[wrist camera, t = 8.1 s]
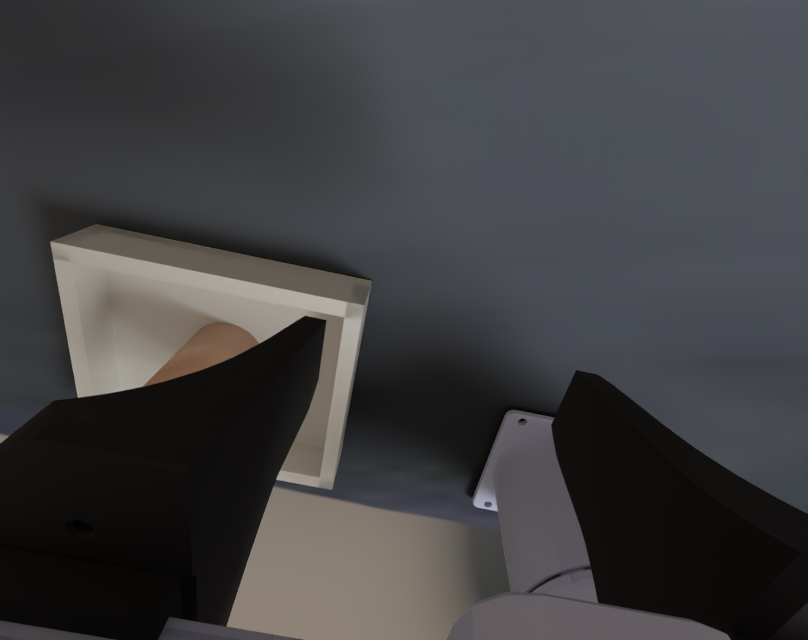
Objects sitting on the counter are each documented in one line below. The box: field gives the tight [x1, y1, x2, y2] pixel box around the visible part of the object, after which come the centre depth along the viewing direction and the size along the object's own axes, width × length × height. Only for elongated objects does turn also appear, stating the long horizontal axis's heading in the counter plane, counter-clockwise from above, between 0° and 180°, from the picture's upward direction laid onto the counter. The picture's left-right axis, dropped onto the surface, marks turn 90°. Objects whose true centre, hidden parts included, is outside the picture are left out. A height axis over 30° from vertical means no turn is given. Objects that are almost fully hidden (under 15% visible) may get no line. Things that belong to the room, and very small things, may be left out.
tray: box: [50, 224, 372, 490], centre depth 24 cm, size 14×12×3 cm
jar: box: [144, 322, 259, 386], centre depth 21 cm, size 4×4×7 cm
